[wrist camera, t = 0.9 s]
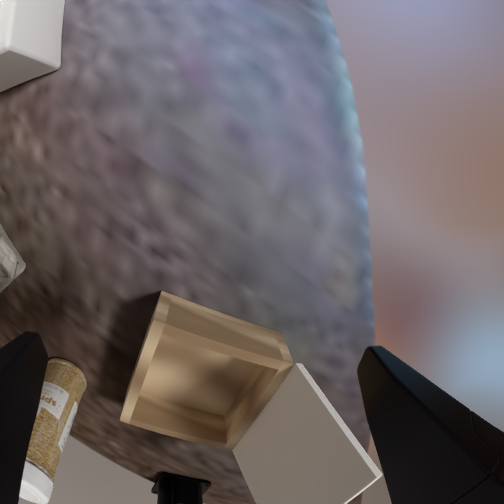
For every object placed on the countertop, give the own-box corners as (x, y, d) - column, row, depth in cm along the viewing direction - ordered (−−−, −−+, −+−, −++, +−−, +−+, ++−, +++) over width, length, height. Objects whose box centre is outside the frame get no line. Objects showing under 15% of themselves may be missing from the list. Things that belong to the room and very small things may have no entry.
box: (228, 418, 28) (231, 449, 24) (127, 388, 25) (119, 420, 21) (282, 333, 25) (293, 364, 21) (161, 290, 22) (153, 319, 19)
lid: (232, 450, 24) (238, 449, 24) (276, 545, 15) (283, 543, 16) (295, 363, 21) (301, 363, 21) (376, 477, 12) (382, 474, 13)
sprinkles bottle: (65, 349, 23) (7, 470, 10) (97, 385, 25) (60, 507, 12) (37, 364, 23) (-19, 470, 11) (67, 397, 25) (28, 505, 12)
